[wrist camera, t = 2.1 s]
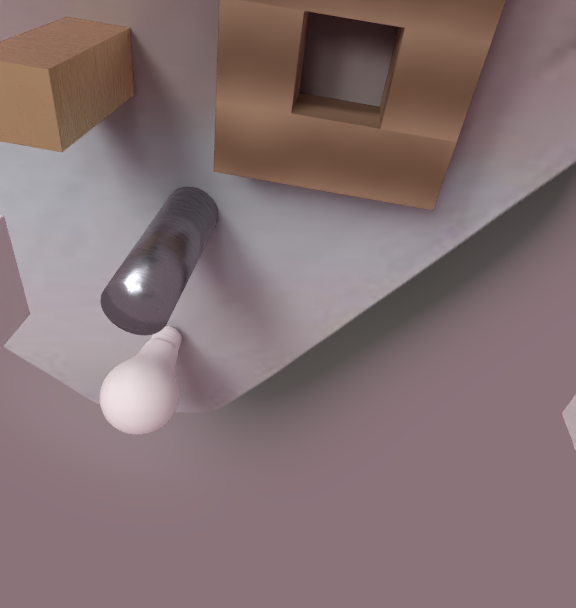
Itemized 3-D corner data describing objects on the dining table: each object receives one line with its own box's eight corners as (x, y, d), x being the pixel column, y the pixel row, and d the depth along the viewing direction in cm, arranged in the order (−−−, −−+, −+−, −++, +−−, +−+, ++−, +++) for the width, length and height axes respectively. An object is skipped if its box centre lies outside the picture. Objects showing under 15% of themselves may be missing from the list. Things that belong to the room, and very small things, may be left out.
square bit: (66, 17, 31) (-36, 54, 23) (129, 27, 31) (48, 69, 23) (76, 84, 34) (-14, 138, 26) (134, 94, 33) (62, 152, 26)
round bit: (166, 182, 37) (96, 275, 28) (219, 191, 37) (167, 288, 28) (167, 228, 40) (104, 328, 30) (217, 237, 40) (168, 340, 30)
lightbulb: (212, 322, 45) (174, 419, 37) (191, 363, 49) (152, 459, 41) (148, 294, 44) (94, 388, 36) (132, 338, 48) (79, 432, 40)
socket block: (241, -113, 26) (223, -115, 23) (510, -69, 26) (528, -65, 23) (228, 147, 35) (213, 171, 32) (427, 182, 34) (433, 210, 31)
